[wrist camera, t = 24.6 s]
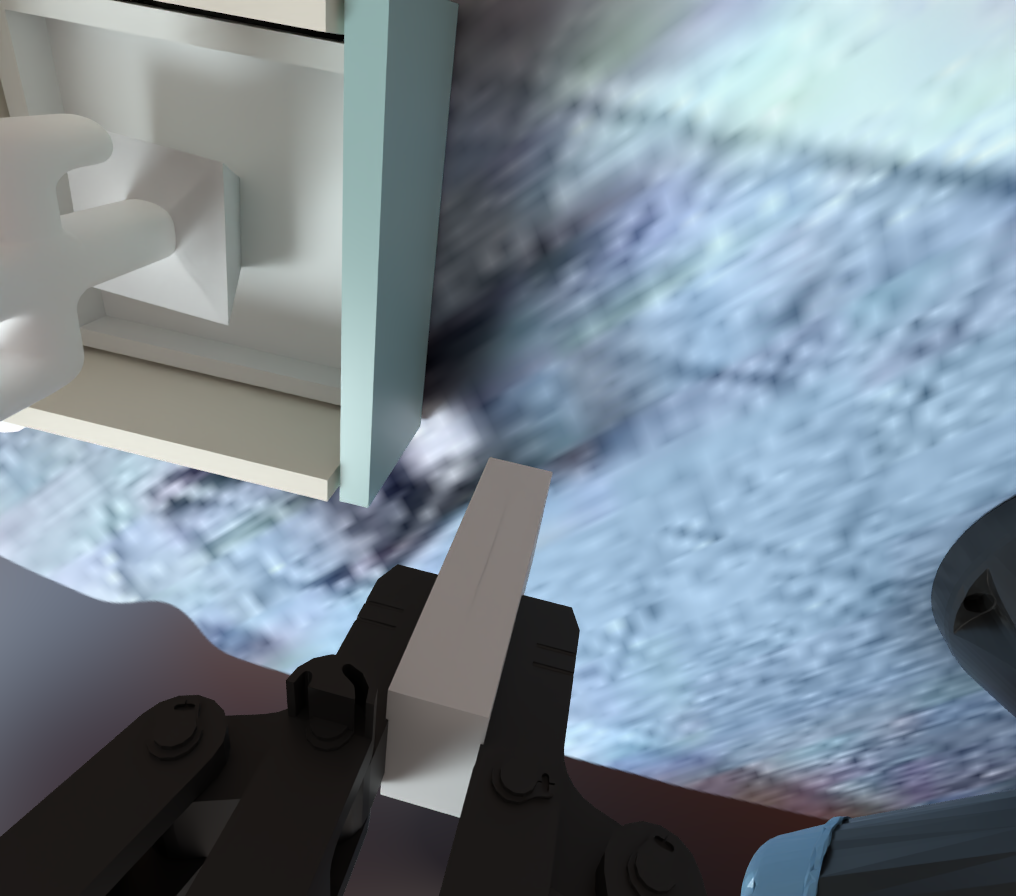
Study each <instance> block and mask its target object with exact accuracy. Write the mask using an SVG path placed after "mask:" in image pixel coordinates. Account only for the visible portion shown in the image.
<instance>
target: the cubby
mask: <svg viewBox="0 0 1016 896" xmlns="http://www.w3.org/2000/svg"><path fill="white" fill-rule="evenodd" d="M155 1H160V2H166V3H171V4H176V5H182V6H187V7H192V8H198V9H203V10H208V11H214V12H219V13H225V14H230V15H235V16H241V17H246V18H251V19H257V20H262V21H268V22H273V23H278V24H284V25H289V26H294V27H300V28H305V29H310V30H316V31H321V32H327V33H335V34H343V35H344V11H345V0H155ZM6 117H10V115H9V111H8V107H7V103H6V99H5V94H4V90H3V86H2V82H1V78H0V118H6ZM83 349H84V363H83V367H82V369H81V371H80V372H79V374H78V375H77V376H76V377H75V378H74V379H73V380H72V381H71V382H70V383H68V384H67V385H66V386H64V387H63V388H61V389H59V390H58V391H56V392H54V393H53V394H51V395H49V396H47V397H45V398H44V399H42V400H40V401H38V402H36V403H34V404H32V405H31V406H29V407H27V408H25V409H23V410H21V411H20V412H18V413H16V414H14V415H12V416H10V417H9V418H7V419H5V420H3V421H4V422H8V423H12V424H16V425H20V426H24V427H28V428H32V429H37V430H41V431H45V432H49V433H53V434H57V435H61V436H65V437H69V438H73V439H77V440H81V441H85V442H89V443H93V444H97V445H101V446H105V447H109V448H113V449H117V450H121V451H126V452H130V453H134V454H138V455H142V456H146V457H150V458H154V459H158V460H162V461H166V462H170V463H174V464H178V465H182V466H186V467H190V468H194V469H198V470H202V471H206V472H210V473H215V474H219V475H223V476H227V477H231V478H235V479H239V480H243V481H247V482H251V483H255V484H259V485H263V486H267V487H271V488H275V489H279V490H283V491H287V492H291V493H295V494H300V495H304V496H308V497H312V498H316V499H320V500H324V501H328V500H329V499H330V497H331V496H332V495H333V493H334V492H335V490H336V489H337V488H338V486H339V485H340V422H341V406H340V405H336V404H332V403H328V402H323V401H319V400H315V399H310V398H306V397H302V396H298V395H293V394H289V393H285V392H281V391H276V390H272V389H268V388H264V387H259V386H255V385H251V384H246V383H242V382H238V381H234V380H229V379H225V378H221V377H217V376H212V375H208V374H204V373H200V372H195V371H191V370H187V369H182V368H178V367H174V366H170V365H165V364H161V363H157V362H153V361H148V360H144V359H140V358H135V357H131V356H127V355H123V354H118V353H114V352H110V351H106V350H101V349H97V348H93V347H89V346H84V345H83Z"/></svg>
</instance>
